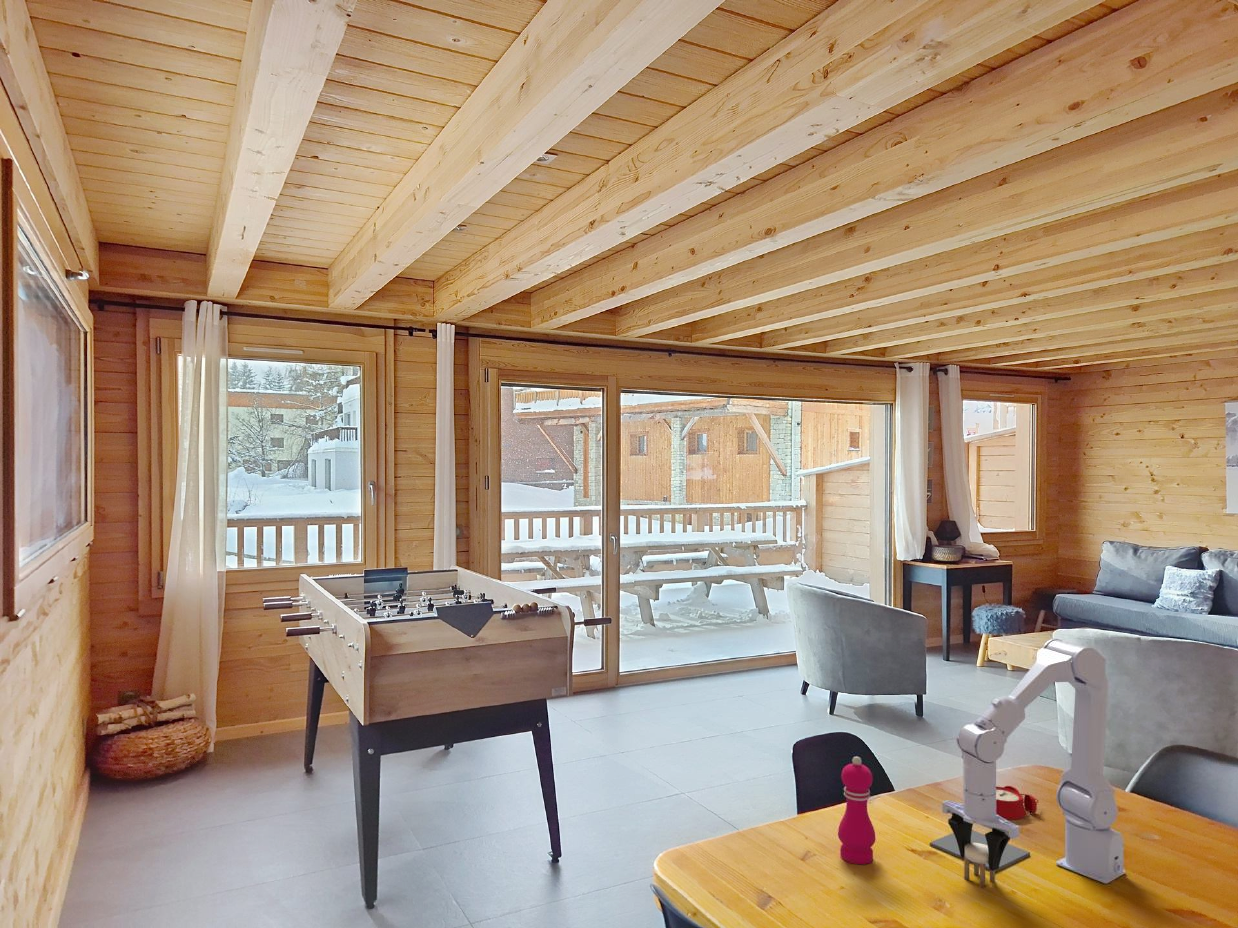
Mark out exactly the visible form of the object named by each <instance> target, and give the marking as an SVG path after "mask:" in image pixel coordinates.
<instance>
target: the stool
mask: <svg viewBox="0 0 1238 928" xmlns="http://www.w3.org/2000/svg"><path fill="white" fill-rule="evenodd" d="M969 860H970V861H973V862H974V864H973V874H974V875H975V876H979V886H980V887H981V888H985V887H986V869H985V864H989V852H988V846H987V845H984V844H980V843H968V844H966V845H965V856H964V860H963V862H964V863H963V864H964V865H963V867H964V868H963V874H964V875H963V878H964V880H967V881H969V880H970V862H969ZM979 863H980V866H979ZM989 881H990V882H991V883H995V882H996V872H995V870H994V871H992V870H990V871H989Z"/></svg>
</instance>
